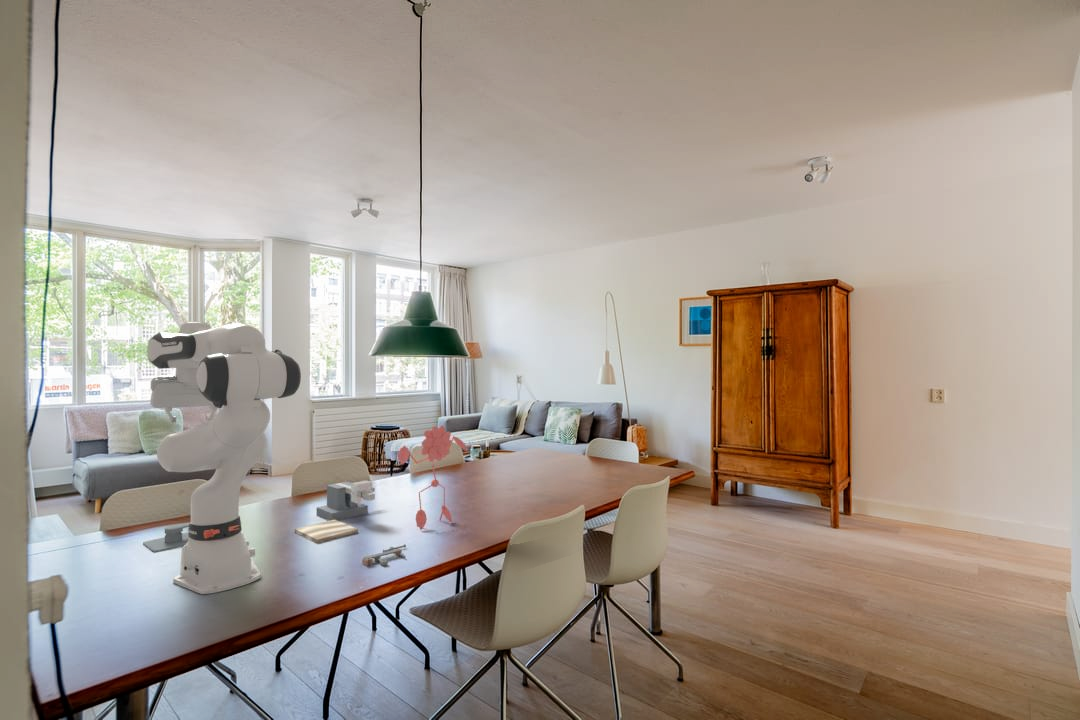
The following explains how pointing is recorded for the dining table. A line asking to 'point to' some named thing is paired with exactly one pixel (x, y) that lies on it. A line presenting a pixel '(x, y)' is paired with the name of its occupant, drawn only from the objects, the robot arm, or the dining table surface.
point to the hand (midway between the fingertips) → (191, 421)
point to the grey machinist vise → (343, 503)
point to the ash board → (326, 531)
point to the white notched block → (360, 490)
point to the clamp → (369, 561)
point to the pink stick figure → (435, 448)
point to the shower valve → (169, 539)
